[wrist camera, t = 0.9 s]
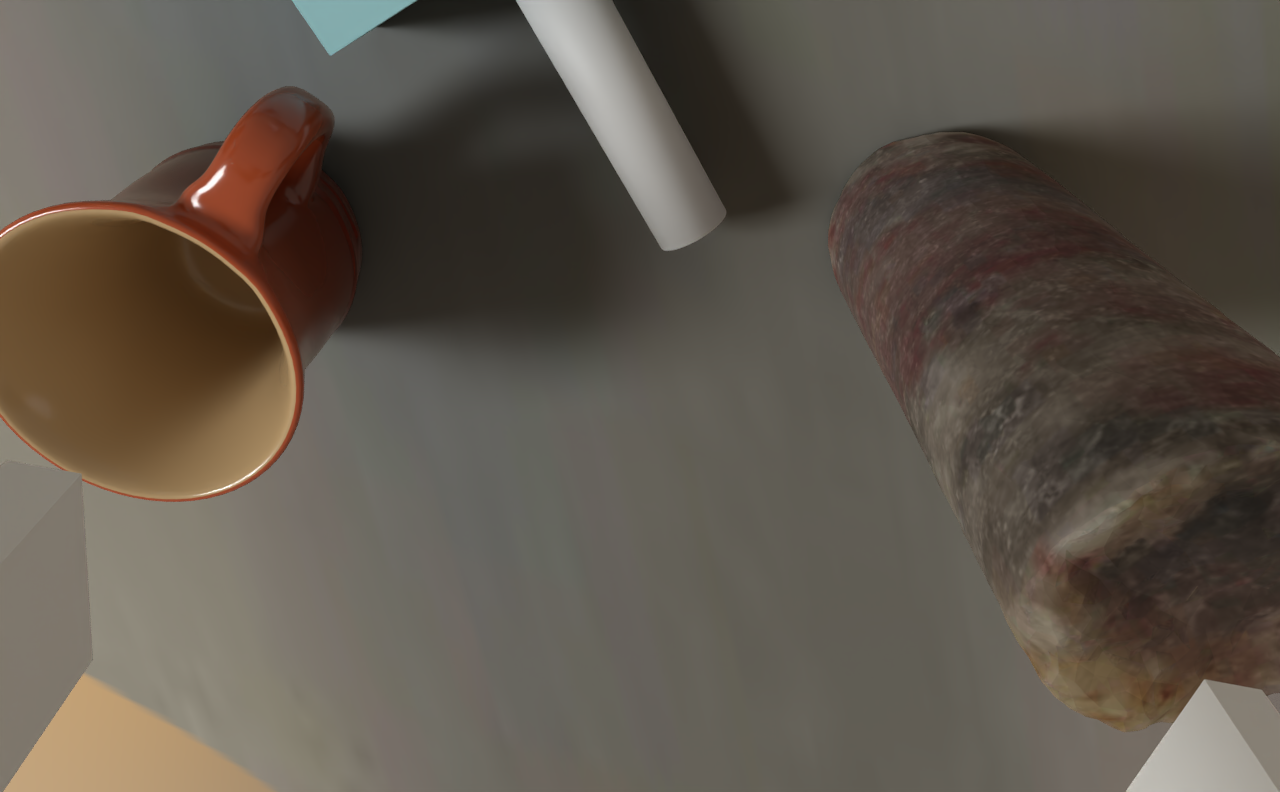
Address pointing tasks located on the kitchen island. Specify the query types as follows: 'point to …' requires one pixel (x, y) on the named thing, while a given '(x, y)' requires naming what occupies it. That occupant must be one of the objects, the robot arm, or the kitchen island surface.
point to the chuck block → (588, 102)
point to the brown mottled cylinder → (1074, 423)
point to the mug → (180, 310)
